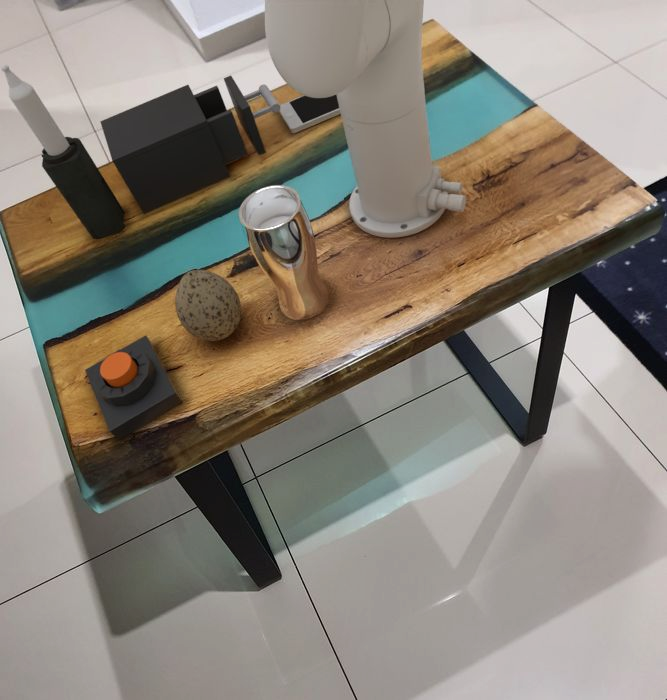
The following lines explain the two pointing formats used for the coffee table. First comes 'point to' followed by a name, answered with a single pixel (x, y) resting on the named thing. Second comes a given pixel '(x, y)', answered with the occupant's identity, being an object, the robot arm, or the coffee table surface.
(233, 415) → the coffee table surface
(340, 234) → the coffee table surface
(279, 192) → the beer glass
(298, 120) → the smartphone
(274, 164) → the coffee table surface
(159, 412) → the block
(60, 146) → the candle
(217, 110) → the fryer drawer
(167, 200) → the fryer
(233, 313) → the decorative egg
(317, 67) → the robot arm
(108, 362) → the button
